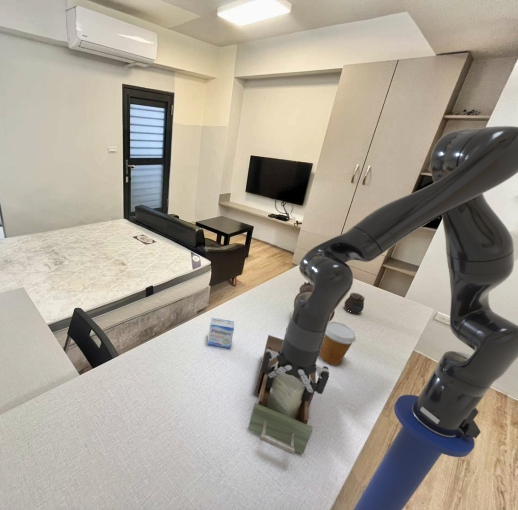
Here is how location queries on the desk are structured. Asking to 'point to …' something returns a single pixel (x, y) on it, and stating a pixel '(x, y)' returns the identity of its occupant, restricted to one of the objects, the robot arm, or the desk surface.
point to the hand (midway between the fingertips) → (286, 392)
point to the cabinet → (275, 346)
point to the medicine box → (220, 333)
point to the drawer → (280, 424)
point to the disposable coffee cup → (336, 342)
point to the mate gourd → (355, 303)
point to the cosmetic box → (286, 395)
